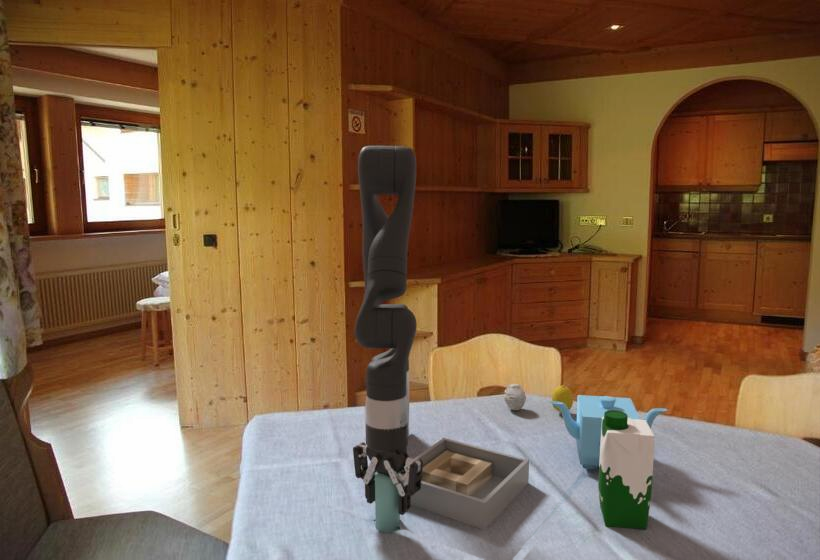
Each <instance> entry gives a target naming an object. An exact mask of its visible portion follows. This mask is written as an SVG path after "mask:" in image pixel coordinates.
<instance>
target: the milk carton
mask: <svg viewBox="0 0 820 560" xmlns="http://www.w3.org/2000/svg"><path fill="white" fill-rule="evenodd" d="M654 449H655V434H654V432H653V431H652V430H651V429H650V427H649V425H648V424H647V422H646V420H644V419H641V418H640V419H631V418H628V416H627V414H626V413H624V412H621V411H616V410H609V411H606V412H605V413H604V417H602V426H601V441H600V460H599V466H598V483H597V484H598V487H597V488H598V499H599V507H600V510H601V516H602V518H603V523H604V525H605V527H615V528H623V529H624V528H626V529H636V530H637V529H638V530H647V528H648V520H649V514H650V507H651V501H652V490H653V489H652V488H653V473H654V459H655V458H654V457H655V450H654Z"/></svg>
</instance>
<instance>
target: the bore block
mask: <svg viewBox="0 0 820 560" xmlns="http://www.w3.org/2000/svg"><path fill="white" fill-rule="evenodd" d="M450 471H453V472H456V473H460V474H463V476H460V475H456V474H453V473H449V472H450ZM491 477H492V463H490V462H487V461H483V460H479V459H476V458H472V457H468V456H465V455H461V454H457V453H454V452H450V451H445V452H443V453H442V454H441V455H439V456H438V457H437V458H435V459H434V460H432V461H431V462H430V463H428V464H427V465H426V466H424V467H423V470H422V481H424V482H427V483H430V484H434V485H437V486H440V487H443V488H446V489H450V490H453V491H456V492H459V493H462V494H466V495H469V496H471V495H472V494H473V493H474V492H475V491H477V490H478V489H479V488H480V487H481V486H482V485H483V484H484V483H485V482H486V481H487V480H489V479H490V478H491Z"/></svg>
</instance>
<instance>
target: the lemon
mask: <svg viewBox="0 0 820 560" xmlns="http://www.w3.org/2000/svg"><path fill="white" fill-rule="evenodd" d="M552 392H553V393H552V395H551V401H558V402H562V403H564V404H565V405H566V406H567V407H568V409H569V411H570V410H571V409H572V407H573V403H574V396H573V392H572V390H570V388H568V387H567V386H565V385H564V384H562V385H560V386H558V387H556V388H555V389H554V390H553V391H552ZM552 407H553V409H555V410H556V411H557V412H559V413H560V414H561V415H562V413H561V411H560V409H559V408H558V407H557V406H555V405H554V404H552Z"/></svg>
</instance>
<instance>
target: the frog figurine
mask: <svg viewBox="0 0 820 560" xmlns="http://www.w3.org/2000/svg"><path fill="white" fill-rule="evenodd" d="M503 399H504V401H505V404H506V406H507V407H508V408H509V409H510V410H512V411H519V410H521V409H523V407H524V405H525V404H526V401H527V396H526V392H525V391H524V390H523V388H522V387H521V385H520V384H518V383H517V384H516V383H511V384H508V385H507V387H506V389H505V390H504V395H503Z"/></svg>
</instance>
